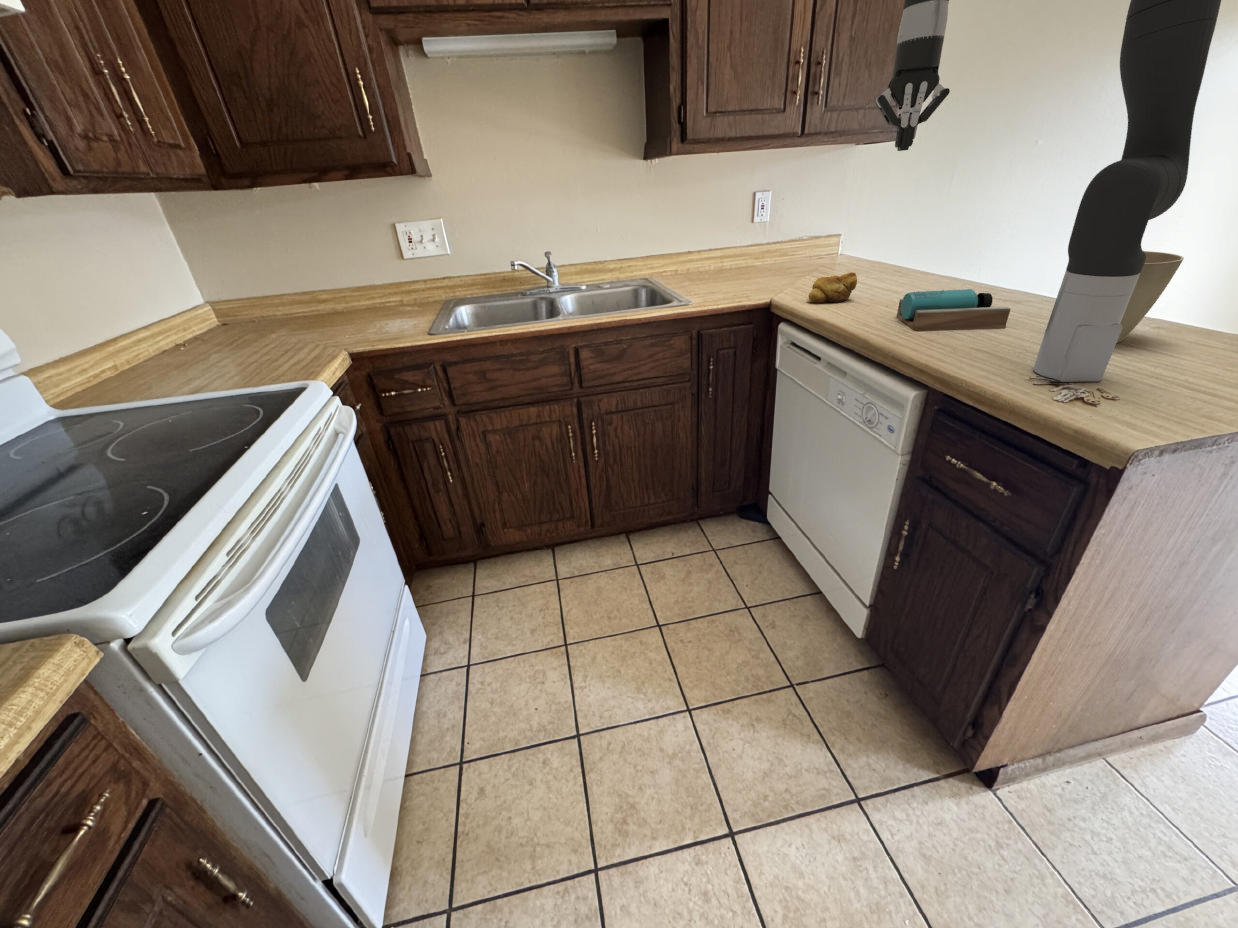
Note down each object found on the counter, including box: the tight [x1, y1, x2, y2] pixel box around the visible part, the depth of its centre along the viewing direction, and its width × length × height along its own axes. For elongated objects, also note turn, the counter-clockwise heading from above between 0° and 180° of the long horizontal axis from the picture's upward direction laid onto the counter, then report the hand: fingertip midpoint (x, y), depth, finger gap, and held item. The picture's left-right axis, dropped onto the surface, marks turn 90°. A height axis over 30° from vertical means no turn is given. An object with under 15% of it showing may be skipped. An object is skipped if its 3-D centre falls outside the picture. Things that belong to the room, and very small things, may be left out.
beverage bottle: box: [901, 288, 993, 320], centre depth 123 cm, size 6×7×20 cm
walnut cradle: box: [896, 298, 1011, 332], centre depth 123 cm, size 13×19×4 cm
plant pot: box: [1116, 250, 1185, 344], centre depth 103 cm, size 15×15×16 cm
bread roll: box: [808, 272, 858, 304], centre depth 149 cm, size 13×10×8 cm
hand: (902, 150), depth 102 cm, fingers closed
